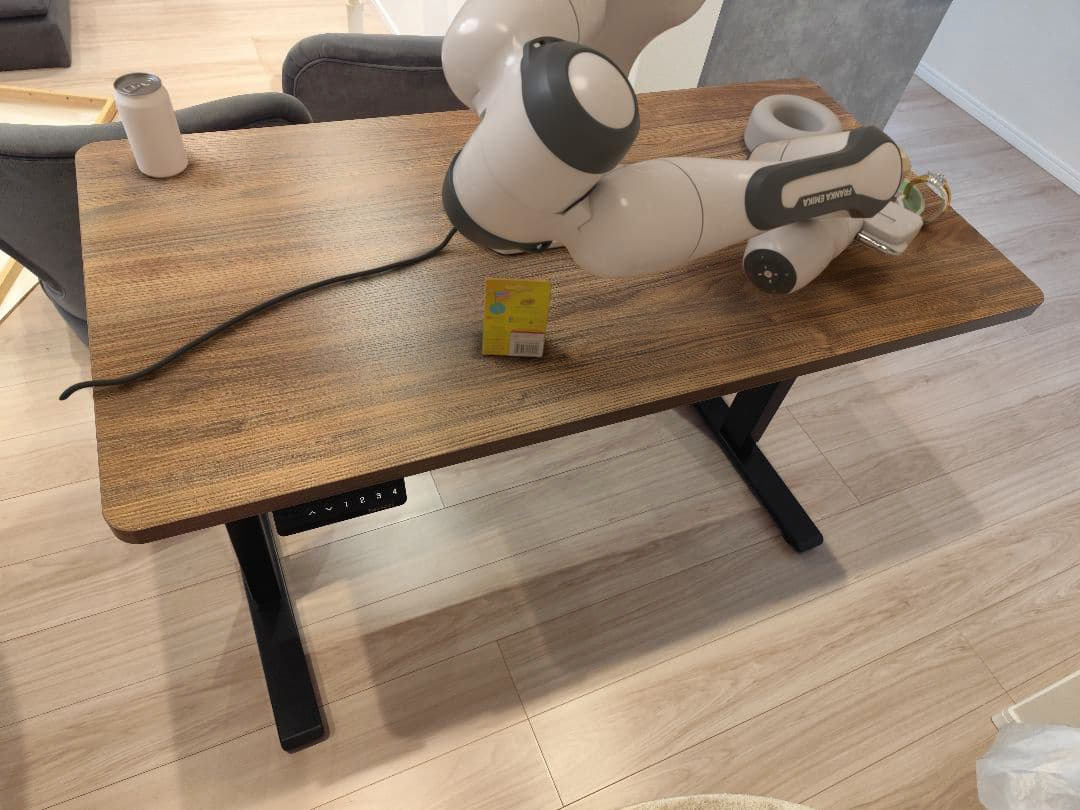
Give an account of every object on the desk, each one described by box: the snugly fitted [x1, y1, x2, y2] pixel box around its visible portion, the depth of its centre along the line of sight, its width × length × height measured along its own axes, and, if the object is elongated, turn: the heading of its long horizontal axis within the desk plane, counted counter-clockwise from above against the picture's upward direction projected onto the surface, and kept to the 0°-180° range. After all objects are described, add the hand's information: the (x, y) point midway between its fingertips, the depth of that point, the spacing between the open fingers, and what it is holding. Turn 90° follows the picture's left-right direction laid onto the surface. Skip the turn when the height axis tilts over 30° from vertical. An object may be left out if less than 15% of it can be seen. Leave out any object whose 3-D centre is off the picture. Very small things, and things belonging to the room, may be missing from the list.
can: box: [112, 71, 189, 179], centre depth 98 cm, size 6×6×12 cm
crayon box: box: [481, 277, 553, 358], centre depth 84 cm, size 7×3×12 cm, turn 92°
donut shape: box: [743, 93, 844, 153], centre depth 121 cm, size 15×15×7 cm
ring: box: [903, 170, 952, 224], centre depth 112 cm, size 7×3×8 cm, turn 29°
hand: (868, 182), depth 106 cm, fingers open, 8 cm apart
